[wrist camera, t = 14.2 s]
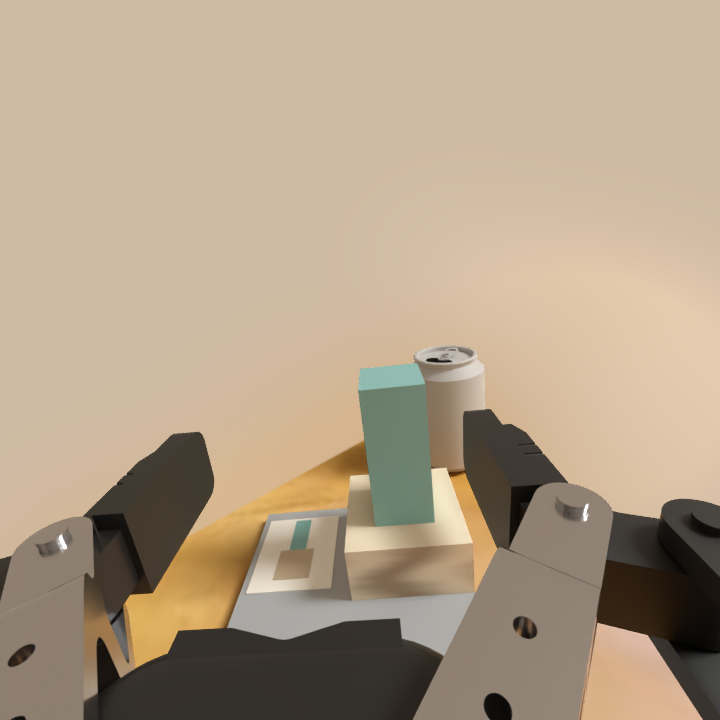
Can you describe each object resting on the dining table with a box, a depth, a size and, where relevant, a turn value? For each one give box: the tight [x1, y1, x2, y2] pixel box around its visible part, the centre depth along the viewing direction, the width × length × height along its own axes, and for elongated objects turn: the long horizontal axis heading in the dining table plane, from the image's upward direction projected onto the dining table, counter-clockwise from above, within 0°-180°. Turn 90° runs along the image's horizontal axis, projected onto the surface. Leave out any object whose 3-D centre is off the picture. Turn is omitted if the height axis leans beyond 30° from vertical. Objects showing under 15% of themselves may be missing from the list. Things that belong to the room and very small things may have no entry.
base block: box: [344, 468, 474, 601], centre depth 27 cm, size 8×8×4 cm
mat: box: [227, 508, 475, 656], centre depth 23 cm, size 16×20×1 cm
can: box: [413, 345, 485, 472], centre depth 38 cm, size 8×8×12 cm
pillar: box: [358, 363, 435, 527], centre depth 25 cm, size 4×4×10 cm
